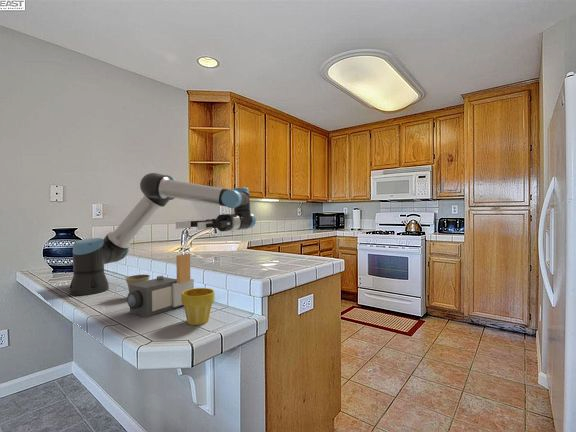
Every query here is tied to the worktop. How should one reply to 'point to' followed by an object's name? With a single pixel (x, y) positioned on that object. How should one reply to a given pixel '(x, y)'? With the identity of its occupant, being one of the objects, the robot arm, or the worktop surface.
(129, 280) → the flower pot
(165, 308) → the camera body
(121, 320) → the worktop surface
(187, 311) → the plant pot
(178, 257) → the sliding cover
